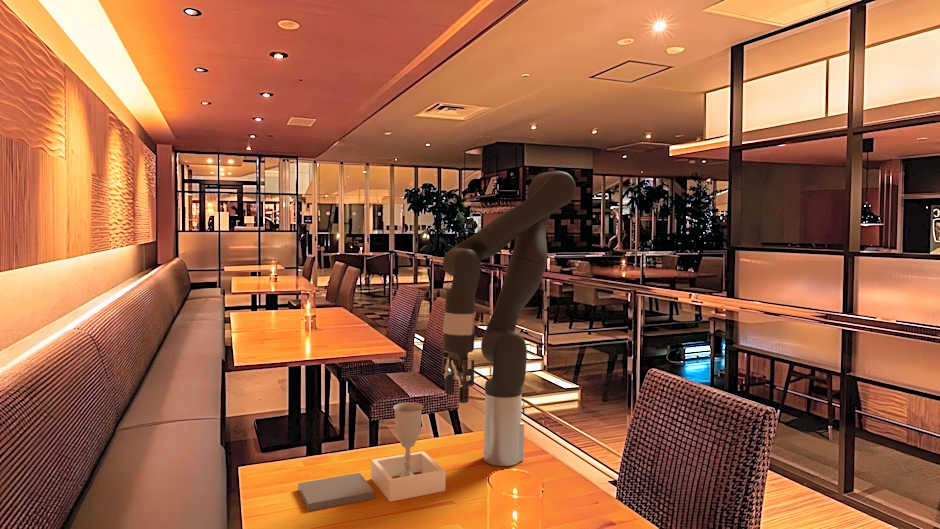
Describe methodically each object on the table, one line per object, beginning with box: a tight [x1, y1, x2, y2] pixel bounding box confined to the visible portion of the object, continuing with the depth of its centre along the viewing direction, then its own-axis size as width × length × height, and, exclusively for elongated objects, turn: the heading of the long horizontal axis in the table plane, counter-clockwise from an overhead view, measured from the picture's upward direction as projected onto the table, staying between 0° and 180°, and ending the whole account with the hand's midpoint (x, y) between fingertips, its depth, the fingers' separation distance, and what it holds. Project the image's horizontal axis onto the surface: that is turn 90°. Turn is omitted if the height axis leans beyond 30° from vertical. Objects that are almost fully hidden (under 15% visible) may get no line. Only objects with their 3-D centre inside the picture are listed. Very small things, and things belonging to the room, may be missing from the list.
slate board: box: [297, 472, 375, 512], centre depth 133 cm, size 14×11×2 cm
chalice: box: [392, 401, 424, 477], centre depth 138 cm, size 7×7×18 cm
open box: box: [370, 450, 447, 502], centre depth 138 cm, size 13×13×4 cm
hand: (456, 398), depth 147 cm, fingers open, 8 cm apart
